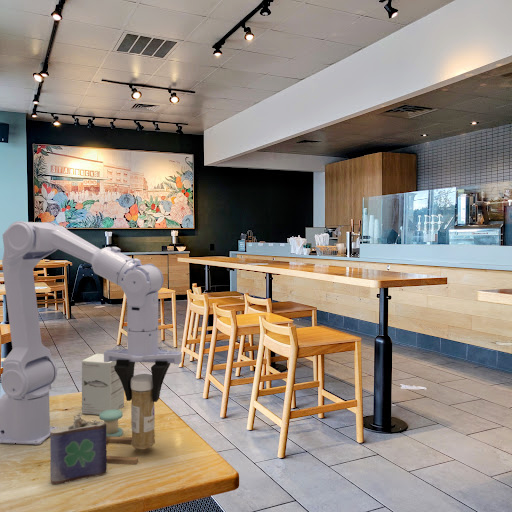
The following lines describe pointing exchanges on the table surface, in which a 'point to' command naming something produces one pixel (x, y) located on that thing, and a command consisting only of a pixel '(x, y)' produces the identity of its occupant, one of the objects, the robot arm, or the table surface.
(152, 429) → the spice jar
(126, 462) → the u-shaped brown frame
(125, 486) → the table surface
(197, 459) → the table surface
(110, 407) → the supplement box
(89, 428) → the flask
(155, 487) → the table surface
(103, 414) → the bobbin
